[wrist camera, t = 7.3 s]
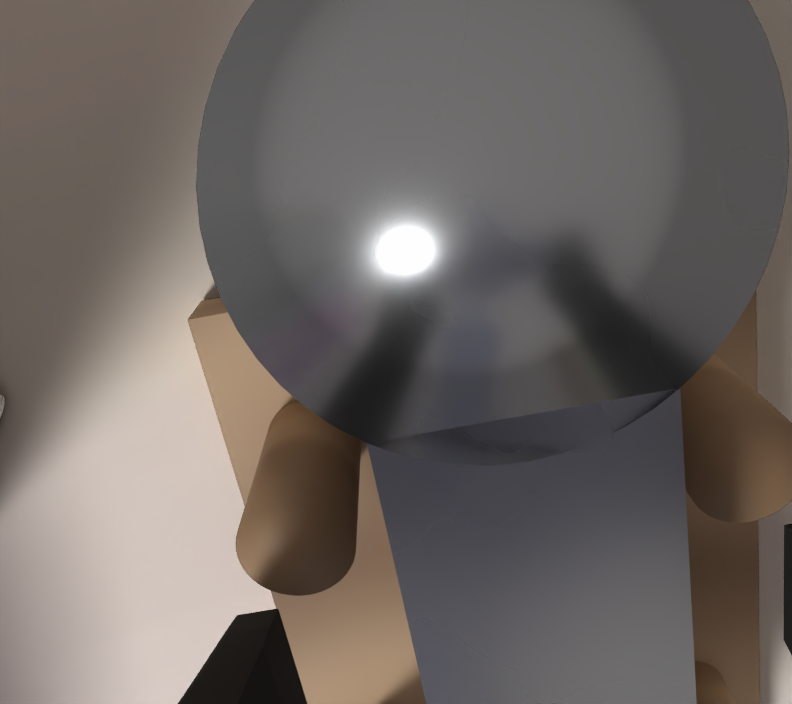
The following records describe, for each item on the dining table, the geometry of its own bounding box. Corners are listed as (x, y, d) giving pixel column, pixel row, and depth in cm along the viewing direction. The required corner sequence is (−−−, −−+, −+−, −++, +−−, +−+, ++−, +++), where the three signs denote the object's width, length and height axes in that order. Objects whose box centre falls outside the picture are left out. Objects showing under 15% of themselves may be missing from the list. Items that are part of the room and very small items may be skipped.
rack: (739, 729, 17) (841, 921, 13) (346, 789, 17) (337, 990, 14) (727, 202, 12) (875, 264, 9) (201, 300, 13) (128, 400, 9)
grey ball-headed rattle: (669, 839, 17) (783, 1144, 12) (447, 872, 17) (473, 1183, 12) (599, -81, 10) (792, -204, 5) (235, -6, 10) (114, -58, 6)
